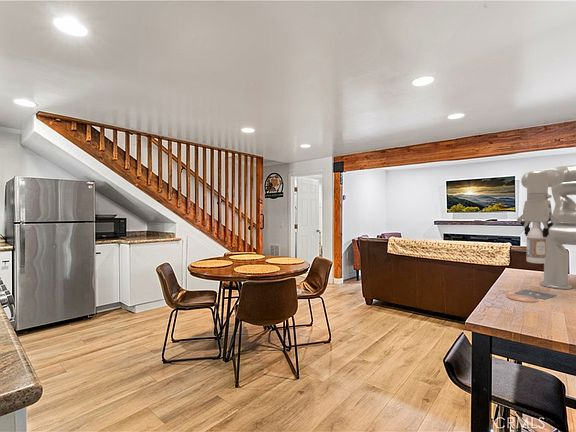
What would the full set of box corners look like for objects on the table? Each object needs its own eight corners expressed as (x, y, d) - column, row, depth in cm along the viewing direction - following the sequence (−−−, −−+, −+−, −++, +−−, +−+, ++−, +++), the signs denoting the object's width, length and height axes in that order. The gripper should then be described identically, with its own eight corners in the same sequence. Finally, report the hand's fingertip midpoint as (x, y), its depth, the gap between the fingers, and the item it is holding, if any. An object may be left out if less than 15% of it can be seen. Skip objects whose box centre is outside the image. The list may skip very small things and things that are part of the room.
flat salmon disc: (513, 294, 146) (513, 292, 146) (542, 300, 136) (542, 298, 136) (502, 297, 140) (502, 296, 140) (531, 303, 130) (531, 302, 130)
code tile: (525, 289, 153) (525, 289, 153) (556, 295, 143) (556, 295, 143) (514, 293, 147) (514, 292, 147) (545, 299, 137) (545, 299, 137)
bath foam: (532, 263, 142) (533, 219, 141) (522, 261, 149) (523, 219, 148) (549, 263, 141) (550, 220, 141) (538, 261, 148) (539, 219, 148)
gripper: (564, 197, 139) (563, 237, 139) (519, 198, 154) (518, 234, 154) (557, 197, 135) (556, 238, 135) (512, 198, 150) (511, 235, 150)
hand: (536, 236), depth 145 cm, fingers closed on bath foam, 6 cm apart
